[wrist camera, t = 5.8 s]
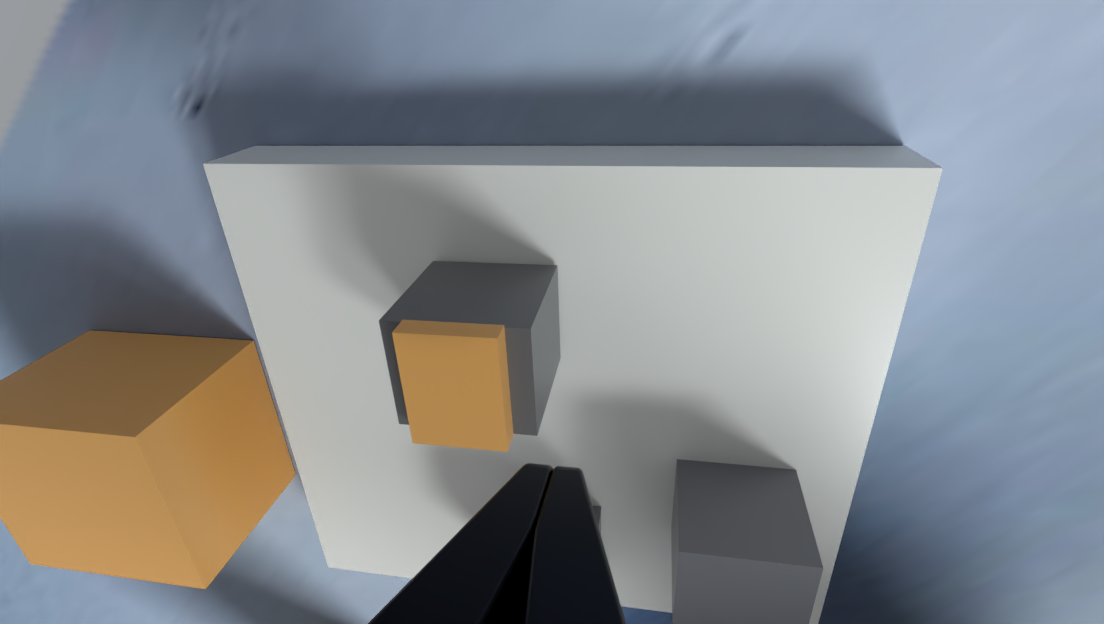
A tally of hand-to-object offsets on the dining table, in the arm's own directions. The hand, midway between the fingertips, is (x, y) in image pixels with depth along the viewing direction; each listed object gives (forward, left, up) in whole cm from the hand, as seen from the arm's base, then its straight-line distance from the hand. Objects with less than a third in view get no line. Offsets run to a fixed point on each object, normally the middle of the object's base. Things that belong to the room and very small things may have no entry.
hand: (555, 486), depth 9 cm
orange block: (+14, +6, -8) cm, 17 cm away
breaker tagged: (+2, 0, -6) cm, 6 cm away
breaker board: (+1, +4, -8) cm, 9 cm away
